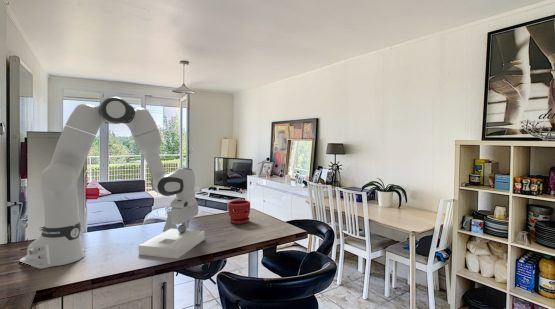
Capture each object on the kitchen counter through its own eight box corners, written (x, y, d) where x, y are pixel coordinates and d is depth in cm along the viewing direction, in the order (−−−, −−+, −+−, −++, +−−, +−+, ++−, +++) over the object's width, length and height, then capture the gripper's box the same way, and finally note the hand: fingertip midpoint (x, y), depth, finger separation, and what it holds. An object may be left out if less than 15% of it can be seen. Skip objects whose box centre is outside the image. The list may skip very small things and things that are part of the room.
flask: (172, 232, 153) (172, 213, 152) (160, 231, 154) (160, 212, 154) (180, 228, 160) (179, 210, 159) (168, 227, 161) (167, 209, 161)
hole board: (138, 254, 124) (138, 245, 123) (170, 236, 147) (170, 228, 147) (177, 258, 120) (177, 249, 120) (204, 239, 143) (204, 231, 143)
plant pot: (250, 218, 181) (250, 199, 181) (249, 225, 168) (249, 204, 167) (229, 218, 180) (229, 199, 180) (226, 225, 167) (226, 204, 167)
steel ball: (175, 233, 138) (175, 225, 138) (180, 231, 142) (180, 223, 142) (183, 234, 138) (183, 226, 137) (188, 232, 142) (188, 223, 141)
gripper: (190, 196, 154) (190, 222, 155) (168, 204, 134) (168, 234, 135) (201, 196, 153) (201, 223, 153) (180, 205, 133) (180, 235, 133)
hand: (185, 228), depth 144 cm, fingers closed
